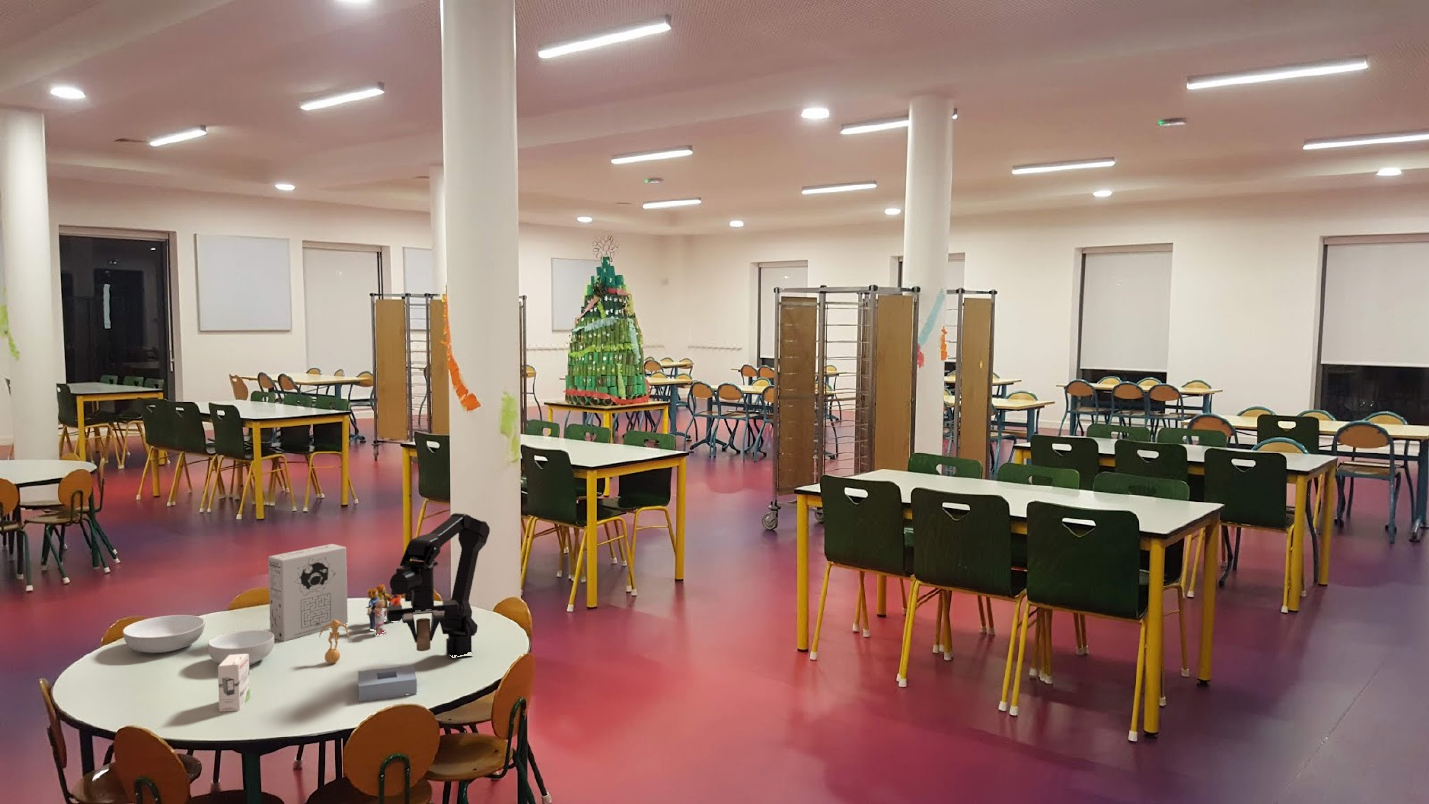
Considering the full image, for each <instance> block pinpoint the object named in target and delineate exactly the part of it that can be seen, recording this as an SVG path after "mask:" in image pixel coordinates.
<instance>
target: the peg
mask: <svg viewBox="0 0 1429 804" xmlns="http://www.w3.org/2000/svg"><path fill="white" fill-rule="evenodd" d="M415 622H416V623H415V629H416V636H417V643H416V651H418V652H426V651H427V652H428V651H429V650H431V641H430V629H431V619H430V618H428V617H423V618H422V617H421V618H417V619H416V621H415Z"/></svg>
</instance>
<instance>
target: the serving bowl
mask: <svg viewBox="0 0 1429 804" xmlns="http://www.w3.org/2000/svg"><path fill="white" fill-rule="evenodd" d="M205 625H206V621H205V619H204V618H203V617H200V616H196V615H190V614H188V615H187V614H173V615H163V616H157V617H156V616H155V617H151V618H146V619H142V620H139V621H135V622H133V623H131V624H129V625H126V626H125V627H124V628H123V629H122V635H123V639H124V642H125V643H126V645H128V647H130V648H131V649H133V650H134V651H137V652H142V653H149V654H151V653H152V654H164V653H169V652H170V653H171V652H174V651H178V650H181V649H184V648H186V647H188V646H191V645H192V644H194V643H195V642H197V641H198V640H199V638H201V636H202V634H203V633H204V630H205Z"/></svg>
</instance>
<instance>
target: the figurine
mask: <svg viewBox="0 0 1429 804" xmlns="http://www.w3.org/2000/svg"><path fill="white" fill-rule="evenodd" d="M328 626H331V630H332V631H330V632H329V636H328V643H329V644H330V646H329V648H328V650H327V651H326V652H325V653H324V660H325V662H326V663H328V664H335V663H337V662H338V661H339V660H340V657H341V653H340V651H339V650H337V647H338V643H339V642H338V640H339V638H340V637H339V636H340V632H339V627H343V628H344V629H345V633H346V637H347V638H349V637H350V634H349V630H348V626H347V624H346V625H344V624H342V623H340V622H339V621H338V620H335V619H334V620H333V621H332V622H331V623H329V624H327V625H325V626H324V628H323V630H322V631H320V632H319V634H318V635H319V638H321V635H322V633H324V631H325V630H324V629H325V627H328ZM333 638H334V643H335V646H334V648H332V647H333V641H332V640H333Z"/></svg>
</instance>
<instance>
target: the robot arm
mask: <svg viewBox="0 0 1429 804" xmlns="http://www.w3.org/2000/svg"><path fill="white" fill-rule="evenodd" d="M490 529H491V528H490V526H489V525H488V523H487V521H485V520H484V521H483V520H479V519H477V518H475V517H473V516H470V515H469V514H467V513H460V512H459V513H458V512H454V513H452V514H451V515H450V517H449V518H448V519H446V520H445V521H444V522H442V523H441V524H440V525H438V526H437V527H436V528H435V529H433V530H432V531H431V532H429V533H426V534H423V535H418V536H415V537H413V538H412V539H410V541H409V542H408V543H407V546H406V548H405V550H404V553H403V555H402V559H401V561H400V563H399V566H400V567H398V568H396V569H395V571H396V573H394V574H393V575H392V576H391V578H390V581H389V587H390V589H391V591H393V592H394V593H396V594H398V595H400V596H402V595H404V602H405V603H408V602H410V606H411V607H405V608H403V606H402V604H401V605H394V606H389V605H388V607H387V608H386V616H385V617H386V621H387V622H388V623H391V622H390V621H398V622H400V620H401V619H402V620H401V621H402V623H403V624H407V626H408V628H409V629H410V632H411V634H412V637H413V640H414V643H415V644H417V636H416V623H415V622H416V621H415V618H414V615H425V614H431V619H430V642H432V641H433V639H434V636H435V634H436V631H437V629H438V626H439V624H440V628H441V632H442V634H443V635H447V638H446V639H445V643H446V644H445V645H446V647H445V649H446V651H445V652H446V655H447V656H448V658H449V657H450V658H452V657H451V656H452V655H453V657H454V655H457V656H460V655H464V654H467V653H468V652H472V651H473V650H472V648H473V647H472V645H473V644H472V643H473V642H472V637H474V636H475V635H476V634H477V631H478V628H479V627H478V624H477V623H476V622H475V620H474V619H473V618H472V617H473V616H472V615H473V610H472V607H471V604H470V595H471V590H472V586H473V582H474V577H475V576H474V575H475V571H476V568H477V567H476V566H477V561H478V556H479V552H480V551H481V550H482V549H483V548H484V546H486V544H487V542H488V538H489V535H490V533H491V532H490V531H491V530H490ZM456 535H458V537H457V540H458V542H459V545H460V548H461V549H460V550H461V551H460V555H459V559H458V565H457V569H456V574H455V580H454V584H453V589H452V594H451V597H450V599H449V600H442V604H439V605H435V603H434V602H435V590H434V589H435V588H434V586H435V585H434V584H435V583H434V578H435V577H434V575H435V574H434V572H435V571H434V570H435V569H434V568H435V567H436V566H438V565H439V563H438V561H436V560H435V559H436V558H437V557H438V555H439V554H441V547H443V546H444V545H445V544H447V543H448V542H449V541H450V540H452V539H453V538H454V537H455V536H456ZM472 653H473V652H472ZM449 655H451V656H449ZM457 656H456V657H457ZM450 658H449V659H450ZM452 659H453V658H452Z"/></svg>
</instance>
